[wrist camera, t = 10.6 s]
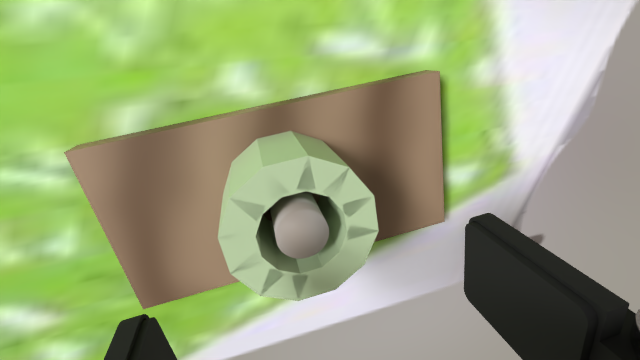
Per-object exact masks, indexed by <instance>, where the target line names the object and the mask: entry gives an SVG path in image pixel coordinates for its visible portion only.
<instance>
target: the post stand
mask: <svg viewBox="0 0 640 360" xmlns="http://www.w3.org/2000/svg"><path fill="white" fill-rule="evenodd" d="M288 131H293V132H296V133H299V134H303V135H306V136H309V137H313V138H316V139H319V140H322V141H323V142H324V143H325V144H326V145H327V146H328V147H329V148H330V149H331V150H332V151H333V152H335V153H336V154H337V155H338V156H339V157H340V158H341V159H342V160H343V161H344V162H345V163H346V164H347V165H348V166H349V167H350V169H351V170H352V171H353V172H354V173H355V174H356V176H357V177H358V178H359V179H360V180H361V181H362V182H363V184H364V185H365V186H366V187H367V188H368V189H369V190H370V192H371V193H372V194H373V195H374V198H375V206H376V214H377V222H378V230H379V231H378V234H377V236H376V238H375V241H374V242H376V241H379V240H382V239H386V238H389V237H393V236H396V235H400V234H403V233H406V232H410V231H413V230H417V229H420V228H424V227H427V226H430V225H434V224H437V223H441V222H444V192H443V161H442V130H441V99H440V71H429V70H425V71H420V72H416V73H411V74H406V75H402V76H397V77H392V78H388V79H383V80H378V81H374V82H369V83H364V84H360V85H355V86H350V87H346V88H341V89H336V90H332V91H327V92H322V93H318V94H313V95H308V96H304V97H299V98H295V99H290V100H285V101H281V102H276V103H271V104H267V105H262V106H257V107H253V108H248V109H243V110H239V111H234V112H229V113H225V114H220V115H215V116H211V117H206V118H201V119H197V120H192V121H187V122H183V123H178V124H173V125H169V126H164V127H159V128H155V129H150V130H145V131H141V132H136V133H131V134H127V135H122V136H118V137H113V138H108V139H104V140H99V141H94V142H90V143H85V144H80V145H77V146H75V147H73V148H72V149H70V150H68V151H66V152H64V153H65V155H66V157H67V159H68V161H69V163H70V165H71V167H72V169H73V171H74V173H75V175H76V177H77V179H78V181H79V183H80V185H81V187H82V189H83V191H84V193H85V195H86V197H87V199H88V201H89V203H90V205H91V207H92V209H93V211H94V212H95V214H96V216H97V218H98V220H99V222H100V224H101V226H102V228H103V230H104V232H105V234H106V236H107V238H108V240H109V242H110V244H111V246H112V248H113V250H114V252H115V254H116V256H117V258H118V260H119V262H120V264H121V266H122V268H123V270H124V272H125V274H126V276H127V278H128V280H129V282H130V284H131V286H132V288H133V290H134V292H135V294H136V296H137V298H138V300H139V302H140V304H141V306H142V308H143V309H146V308H149V307H153V306H156V305H159V304H163V303H166V302H170V301H173V300H177V299H180V298H183V297H187V296H190V295H194V294H197V293H201V292H204V291H207V290H211V289H214V288H218V287H221V286H225V285H228V284H231V283H235V282H238V281H239V280H238V279H237V278H235V277H234V276H233V275H231V274H230V271H229V269H228V266H227V263H226V260H225V257H224V254H223V252H222V249H221V246H220V243H219V240H218V231H219V223H220V215H221V207H222V199H223V192H224V189H225V185H226V181H227V178H228V174H229V171H230V167H231V163H232V161H233V160H235V159H236V158H237V157H238V156H239V155H240V154H241V153H242V152H243V151H244V150H245V149H246V148H248V147H249V146H250V145H251V144H252V143H253V142H254V141H255V140H256V139H258V138H262V137H266V136H271V135H275V134H279V133H284V132H288ZM320 196H321V195H320V194H316V193H312V192H308V191H305V192H301V193H297V194H293V195H289V196H285V197H281V198H280V199H279V200H278V201H277V202H276V203H275V204H274V205H272V206H271V207H270V208H269V209H268V210H267V211H266V212H265V213H264V214H263V215H264V216H265V217H266V218H267V219H268V220H270V221H272V222H273V227H274V232H275V237H276V242H277V245H278V247H279V249H280V250H281V251H282V252H283V253H284V254H285V255H287V256H289V257H292V258H297V259H302V258H308V257H311V256H313V255H315V254H317V253H318V252H319V251H320V250H321V249H322V248H323V247H324V246H325V244H326V243H327V241H328V237H329V227H328V224H327V222H326V220H325V218H324V216H323V215H322V213H321V211H320V209H319V207H318V205H317V204H318V202H319V199H320Z"/></svg>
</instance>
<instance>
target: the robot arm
mask: <svg viewBox="0 0 640 360" xmlns="http://www.w3.org/2000/svg"><path fill="white" fill-rule="evenodd" d="M464 292H465V295H466V297H467V299H468V300H469V301H470V303H471V304H472V305H473V306H474V307H475V308H476V309H477V310H478V311H479V312H480V313H481V314H482V316H483V317H484V318H485V319H486V320H487V321H488V322H489V323H490V324H491V325H492V327H493V328H494V329H495V330H496V331H497V332H498V333H499V334H500V335H501V336H502V338H503V339H504V340H505V341H506V342H507V343H508V344H509V345H510V346H511V347H512V349H513V350H514V351H515V352H516V353H517V354H518V355H519V356H520V357H521V358H522V359H523V360H640V309H639V310H638V312H637V313H636V314H635V313H634V312H632V311H631V310H629V309H628V307H629V303H628V302H626V301H625V300H623V299H622V298H620V297H619V296H617V295H615V294H614V293H612V292H611V291H609V290H608V289H606V288H605V287H603V286H602V285H600V284H599V283H597V282H595V281H594V280H593V279H591V278H589V277H588V276H586V275H585V274H583V273H582V272H580V271H579V270H577V269H576V268H574V267H573V266H571V265H569V264H568V263H566V262H565V261H564V260H562V259H560V258H559V257H557V256H556V255H554V254H553V253H551V252H550V251H548V250H547V249H545V248H544V247H542V246H541V245H539V244H538V243H536V242H534V241H533V240H531V239H530V238H528V237H527V236H525V235H524V234H522V233H521V232H519V231H518V230H516V229H515V228H513V227H512V226H510V225H508V224H507V223H505V222H504V221H502V220H501V219H499V218H498V217H496V216H495V215H493V214H491V213H486V214H483V215H479V216H476V217H473V218H471V219H470V220H469V224H467V225H466V227H465V267H464ZM104 360H177V358H176V356H175V354H174V352H173V350H172V348H171V347H170V345H169V343H168V341H167V339H166V337H165V335H164V333H163V331H162V329H161V327H160V325H159V323H158V321H157V320H156V318H154V317H153V318H149V317H148V316H147V315H146V314H143V315H140V316H136V317H133V318H129V319H126V320H123V321H121V322H120V323H119V325H118V327H117V330H116V332H115V334H114V337H113V339H112V341H111V344H110V346H109V349H108V351H107V353H106V356H105V358H104Z"/></svg>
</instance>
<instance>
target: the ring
mask: <svg viewBox="0 0 640 360" xmlns="http://www.w3.org/2000/svg"><path fill="white" fill-rule="evenodd" d="M305 191H308V192H312V193H316V194H320V195H321V196H320V199H319V202H318V204H317V205H318V207H319V209H320V211H321V213H322V215H323V216H324V218H325V220H326V222H327V224H328V227H329V237H328V241H327V243H326V244H325V246H324V247H323V248H322V249H321V250H320V251H319V252H318V253H317V254H315V255H313V256H311V257H308V258H302V259H297V258H292V257H289V256H287V255H285V254H284V253H283V252H282V251H281V250H280V249H279V247H278V245H277V242H276V237H275V232H274V227H273V222H272V221H270V220H268V219H267V218H266V217H265V216H264V215H263V214H264V213H265V212H266V211H267V210H268V209H269V208H270V207H271V206H272V205H274V204H275V203H276V202H277V201H278V200H279V199H280V198H281V197H285V196H289V195H293V194H297V193H301V192H305ZM378 231H379V230H378V222H377V214H376V206H375V198H374V195H373V194H372V193H371V192H370V190H369V189H368V188H367V187H366V186H365V185H364V184H363V182H362V181H361V180H360V179H359V178H358V177H357V176H356V174H355V173H354V172H353V171H352V170H351V169H350V167H349V166H348V165H347V164H346V163H345V162H344V161H343V160H342V159H341V158H340V157H339V156H338V155H337V154H336V153H335V152H333V151H332V150H331V149H330V148H329V147H328V146H327V145H326V144H325V143H324V142H323V141H322V140H319V139H316V138H313V137H309V136H306V135H303V134H299V133H296V132H293V131H288V132H284V133H279V134H275V135H271V136H266V137H262V138H258V139H256V140H255V141H254V142H253V143H252V144H251V145H250V146H249V147H248V148H246V149H245V150H244V151H243V152H242V153H241V154H240V155H239V156H238V157H237V158H236V159H235V160H233V161H232V163H231V167H230V171H229V174H228V178H227V181H226V185H225V189H224V192H223V199H222V207H221V215H220V223H219V231H218V240H219V243H220V246H221V249H222V252H223V254H224V257H225V260H226V263H227V266H228V269H229V271H230V274H231V275H233V276H234V277H235V278H237V279H238V280H239V281H241V282H242V283H243V284H245V285H246V286H248V287H249V288H250V289H252V290H253V291H254V292H256V293H257V294H258V295H260V296H265V297H272V298H280V299H288V300H295V301H300V300H303V299H306V298H309V297H313V296H316V295H319V294H322V293H326V292H329V291H332V290H335V289H337V288H338V287H339V286H340V285H341V284H342V283H343V282H345V281H346V280H347V279H348V278H349V277H350V276H352V275H353V274H354V273H355V272H356V271H357V270H358V269H360V268H361V267H362V266H363V265H364V264H365V262H366V259H367V257H368V255H369V252H370V250H371V248H372V245H373V243H374V241H375V238H376V236H377V234H378Z"/></svg>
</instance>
